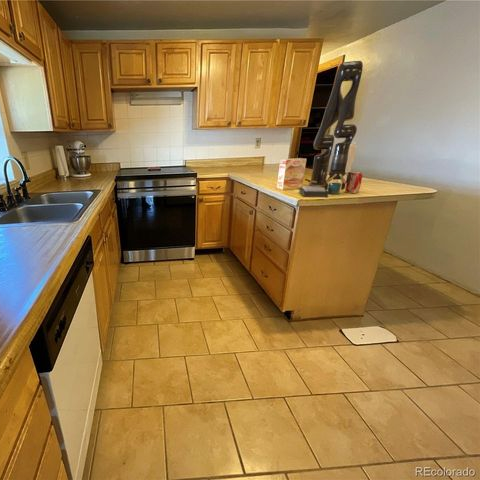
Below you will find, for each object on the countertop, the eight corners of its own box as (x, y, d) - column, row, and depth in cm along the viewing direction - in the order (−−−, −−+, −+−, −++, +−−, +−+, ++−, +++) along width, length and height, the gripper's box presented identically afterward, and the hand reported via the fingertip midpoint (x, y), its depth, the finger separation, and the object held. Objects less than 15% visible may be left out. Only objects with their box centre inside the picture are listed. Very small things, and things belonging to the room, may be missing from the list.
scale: (298, 192, 168) (299, 187, 167) (321, 192, 165) (322, 187, 164) (303, 196, 156) (304, 191, 155) (328, 197, 152) (329, 192, 151)
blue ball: (325, 192, 164) (327, 182, 162) (337, 192, 163) (339, 182, 160) (328, 194, 159) (330, 184, 157) (340, 194, 157) (342, 184, 155)
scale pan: (302, 188, 165) (302, 186, 165) (320, 188, 162) (320, 186, 162) (306, 191, 156) (306, 189, 156) (325, 192, 154) (325, 189, 153)
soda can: (360, 193, 157) (365, 172, 153) (347, 193, 159) (352, 173, 154) (355, 191, 164) (359, 171, 159) (342, 191, 165) (346, 171, 161)
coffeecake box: (282, 190, 176) (286, 159, 169) (276, 188, 183) (279, 159, 176) (302, 188, 179) (307, 158, 172) (295, 186, 185) (299, 157, 178)
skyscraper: (346, 183, 188) (354, 141, 178) (334, 182, 194) (342, 141, 184) (351, 182, 192) (360, 141, 182) (340, 181, 198) (348, 141, 188)
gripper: (351, 161, 155) (345, 188, 161) (323, 161, 159) (319, 188, 165) (356, 162, 149) (349, 190, 154) (327, 162, 152) (322, 190, 158)
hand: (333, 189), depth 160 cm, fingers open, 8 cm apart
